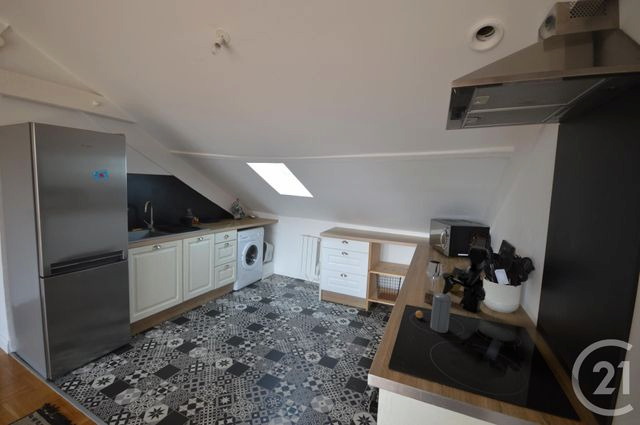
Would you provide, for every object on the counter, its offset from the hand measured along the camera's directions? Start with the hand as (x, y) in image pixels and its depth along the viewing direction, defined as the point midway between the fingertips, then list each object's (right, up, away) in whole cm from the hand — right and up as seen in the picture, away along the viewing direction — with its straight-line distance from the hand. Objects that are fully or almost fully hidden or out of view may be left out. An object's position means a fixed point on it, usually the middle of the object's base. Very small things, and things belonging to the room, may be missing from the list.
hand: (451, 299), depth 122 cm
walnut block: (-1, -8, +21) cm, 23 cm away
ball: (-13, -8, +3) cm, 15 cm away
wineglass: (+4, -7, +31) cm, 33 cm away
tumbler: (-8, -10, -5) cm, 14 cm away
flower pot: (+19, -7, +39) cm, 44 cm away
